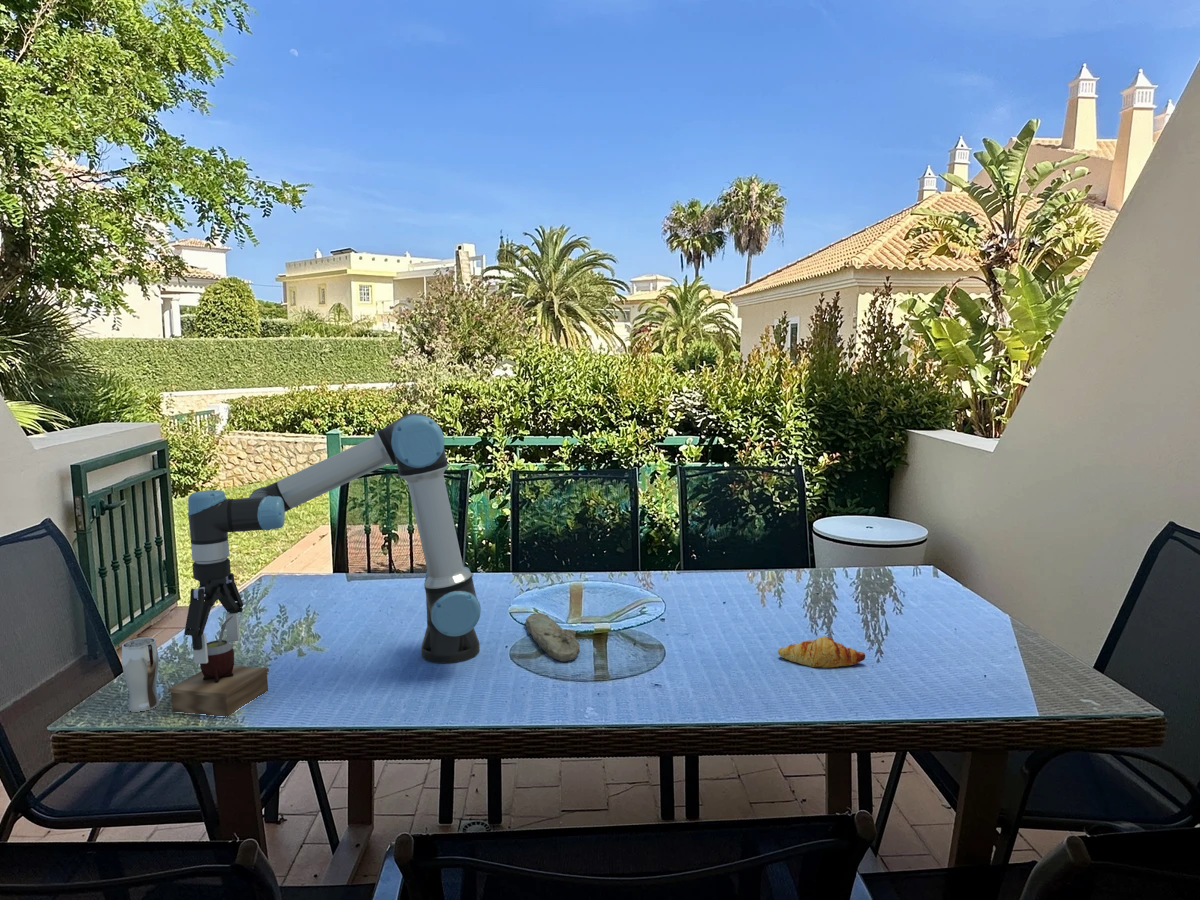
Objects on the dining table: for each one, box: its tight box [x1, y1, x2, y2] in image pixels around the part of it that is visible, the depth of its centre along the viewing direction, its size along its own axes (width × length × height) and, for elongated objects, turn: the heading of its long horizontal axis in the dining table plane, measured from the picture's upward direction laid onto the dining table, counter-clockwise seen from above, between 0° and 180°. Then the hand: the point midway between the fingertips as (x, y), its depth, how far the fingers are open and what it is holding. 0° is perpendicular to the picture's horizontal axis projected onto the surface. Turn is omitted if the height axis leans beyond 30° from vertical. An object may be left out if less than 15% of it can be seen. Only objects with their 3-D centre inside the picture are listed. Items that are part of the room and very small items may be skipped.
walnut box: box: [167, 665, 270, 718], centre depth 174 cm, size 15×15×6 cm
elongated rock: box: [525, 613, 581, 662], centre depth 210 cm, size 35×5×10 cm
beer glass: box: [121, 637, 161, 713], centre depth 171 cm, size 7×7×15 cm
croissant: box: [777, 635, 866, 669], centre depth 192 cm, size 21×10×8 cm, turn 76°
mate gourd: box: [199, 616, 235, 683], centre depth 173 cm, size 8×8×15 cm
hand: (218, 651), depth 173 cm, fingers open, 13 cm apart
